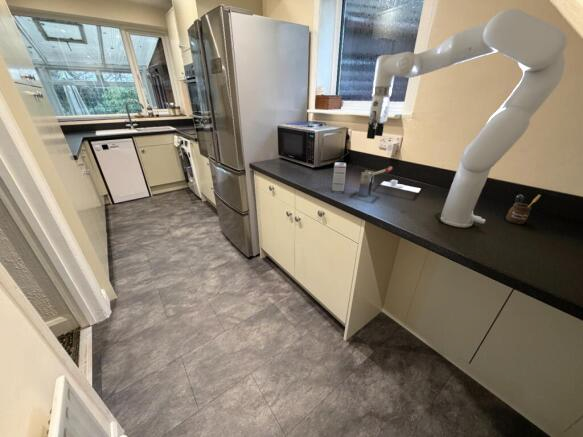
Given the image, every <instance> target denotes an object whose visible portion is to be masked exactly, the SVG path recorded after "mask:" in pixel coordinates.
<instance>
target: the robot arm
mask: <svg viewBox="0 0 583 437" xmlns="http://www.w3.org/2000/svg"><path fill="white" fill-rule="evenodd" d="M567 45H568V36H567V34H566V33H565V31H564V30H563V29H561V28H560V27H558V26H555V25H553V24H551V23H549V22H547V21H544V20H542V19H540V18H538V17H536V16H534V15H532V14H530V13H527V12H526V11H523V10H522V9H518V8H507V9H504V10H502V11H499V12H498V13H496V14H495V15H494V16H493V17H491V19H490V20H489V21H487V22H484V23H482V24H479V25H476V26H472V27H470V28H468V29H464V30H462V31H460V32H457V33H454V34H452V35H451V36H448V38H447V39H445V40H444V41H443V42H442V43H440V44H439V45H437V46H435V47H432V48H429V49H427V50H424V51H421V52H418V53H414V52H413V51H403V52H399V53H396V54H382V55H379V56H378V57H377V59H376V61H375V69H374V76H373V83H372V88H371V96H370V97H372V99H371V103H370V109H369V116H368V123H367V124H368V125H367V132H366V139H369V140H375V138H376V137H383V133H384V128H385V123H386V122H387V121H388V116H389V109H390V100H391V98H392V93H393V87H394V82H395V77H401V78H406V79H411V78H415V77H419V76H422V75H425V74H429V73H432V72H436V71H438V70H442V69H445V68H449V67H451V66H453V65H457V64H461V63H463V62H466V61H471V60H473V59H477V58H481V57H484V56H487V55H491V54H494V53H497V52H498V53H500V54H502V55H504V56H505V57H508V59H509V58H510V59H511V60H512V61H515V62H517V63H518V66H519V68H521V70H522V76H521V80H520V81H519V83H518V84H517V85H516V87H515V88H514V89H513V90H512V92H511V93H510V94H509V96H508V97H507V98H506V100H505V101H504V102H503V104H501V106H500V107H499V108H498V109H497V110H496V112H494V113H493V114H492V115H491V116H490V118H489V119H488V120H487V122H486V124H485V125H484V127H483V128H482V129H481V130H480V132H478V134H477V135H476V136H475V138H473V140H472V141H471V142H470V143H468V144H467V145H466V146H465V148H464V149H463V151H462V154H461V156H460V157H461V158H460V161H459V163H458V166H457V169H456V172H455V174H454V177H453V181H452V183H451V185H450V188H449V191H448V194H447V197H446V199H445V202H444V205H443V208H442V211H441V215H440V218H439V221H440V222H442V223H443V224H445V225H448V226H452V227H456V228H470V227H472V226H473V224H474V223H477V224H480V225H484V224H485V223H486V219H485V218H482V216H481V215H480V216H479V215H475V214H474V209H475V208H476V205H477V202H478V200H479V198H480V196H481V194H482V191H483V189H484V187H485V185H486V182H487V179H488V178H489V175H490V172H491V169H492V168H493V167H494V166H495V165H496V164H497V163H498V162H499V161H500V160H501V159H502V158H503V157H504V156H505V155H506V154H507V153H508V151H510V150H511V149H512V147H514V145H515V144H516V143H517V142H519V140H520V139H521V138H522V137H523V135H524V134H525V133H526V131H527V130H528V128H529V126H530V121H531V118H532V116H534V114H535V113H536V112H537V111H538V110H539V109H540V108H541V107H542V105H543V104H544V103H545V102H546V101H547V99H549V97H550V96H551V95H552V93H553V92H554V91H555V89H556V88H557V87H558V85H559V84H560V82H561V80H562V77H563V75H564V72H565V64H566V61H565V60H566V59H565V55H564V52H565V50H566V49H567V47H568V46H567Z"/></svg>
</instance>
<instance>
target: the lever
mask: <svg viewBox="0 0 583 437" xmlns="http://www.w3.org/2000/svg"><path fill="white" fill-rule="evenodd" d="M391 171H393V166H388V167H386V168H384V169H381V170H377V171H374V173H371V172H369V173H371V174H372V175H371V177H372V176H373V175H374V176H376V175H379V174H383V173H386V174H387V173H390V172H391Z"/></svg>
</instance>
